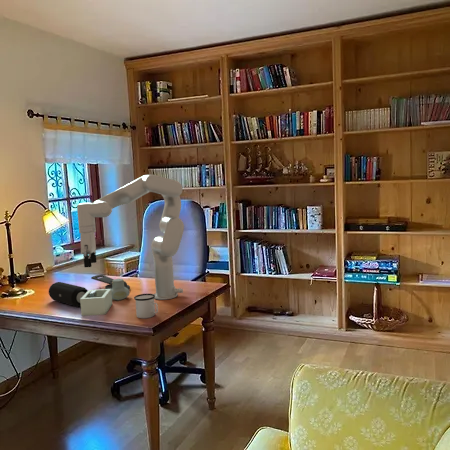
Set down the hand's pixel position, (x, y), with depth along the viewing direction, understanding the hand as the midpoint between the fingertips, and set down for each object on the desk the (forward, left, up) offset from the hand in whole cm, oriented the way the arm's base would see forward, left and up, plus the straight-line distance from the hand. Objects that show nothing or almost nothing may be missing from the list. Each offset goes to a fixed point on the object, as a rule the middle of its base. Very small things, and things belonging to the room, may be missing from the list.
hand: (90, 264), depth 225 cm
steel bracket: (-1, 0, -21) cm, 21 cm away
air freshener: (-8, -18, -22) cm, 30 cm away
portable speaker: (+16, -14, -22) cm, 31 cm away
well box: (-1, 0, -22) cm, 22 cm away
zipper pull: (0, -40, -22) cm, 46 cm away
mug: (-27, +14, -22) cm, 38 cm away
